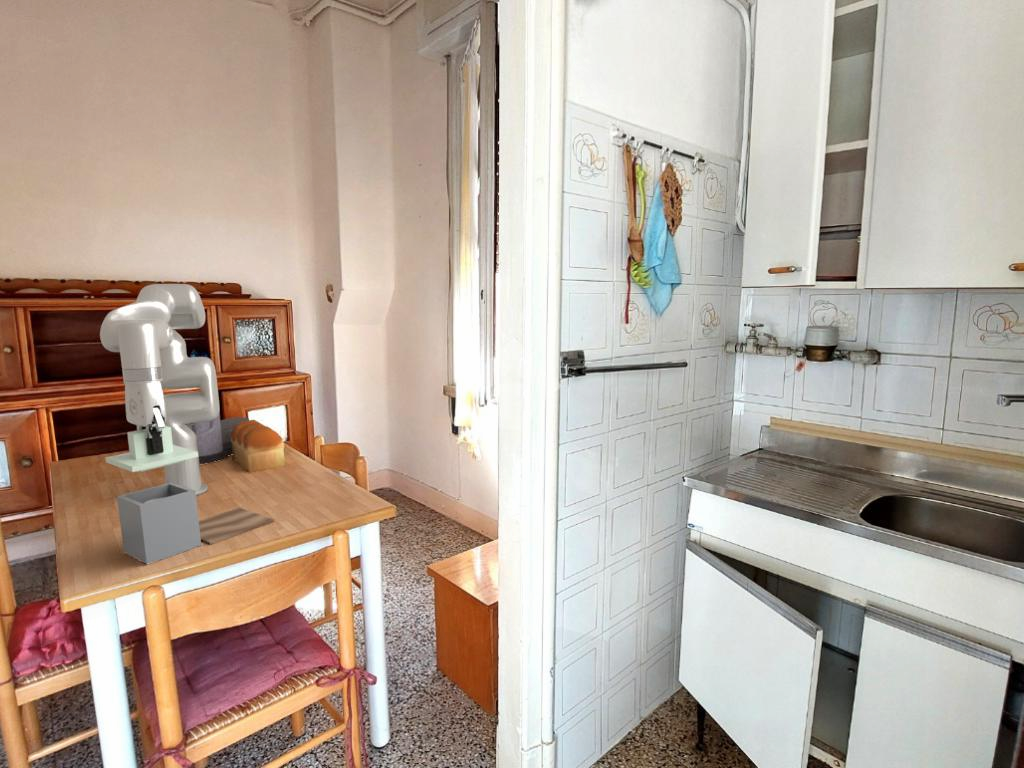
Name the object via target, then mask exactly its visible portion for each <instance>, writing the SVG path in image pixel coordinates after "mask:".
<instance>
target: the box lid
mask: <svg viewBox="0 0 1024 768" xmlns="http://www.w3.org/2000/svg"><path fill="white" fill-rule="evenodd" d="M152 428H153V427H152ZM152 428H151V430H152ZM162 434H163V435H162V441H163V450H164V452H163V453H159V454H154V455H148V452H147V444H146V438H148V437H147V431H146V429H144V430H138V431H137V430H134V431H127V434H126V435H127V442H128V450H129V452H125V453H121V454H120V453H119V454H115V455H111V456H106V457H105V463H106V464H110V465H112V466H115V467H118V468H121V469H123V470H126V471H129V472H131V473H136V472H139V473H141V472H145V471H151V470H154V469H158V468H159V469H160V468H164V466H168V465H172V464H176V463H180V462H183V460H187V459H191V458H195V457H199V456H198V452H197V451H193V450H190V449H186V448H183V447H179V446H175V445H173V443H172V434H171V427H168V426H165V428H164V429H163V430H162Z"/></svg>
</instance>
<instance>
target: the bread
mask: <svg viewBox="0 0 1024 768" xmlns="http://www.w3.org/2000/svg"><path fill="white" fill-rule="evenodd" d="M230 441H231V443H232V453H233V455H232V460H233V459H234V460H233V461H235V460H236V461H237V462H238V463H239V464H238V463H237V462H236V461H235V462H236V463H237V464H238V465H240V466H241V465H242V466H243V467H244V468H243V467H242V466H241V467H242V468H243V469H244V470H246V471H247V470H248V471H249V472H248V471H247V472H248V473H250V474H252V473H251V472H253V473H257V472H256V471H258V472H262V471H261V470H263V471H267V470H266V469H269V470H272V469H271V468H274V469H276V468H275V467H279V466H284V465H285V466H286V464H285V462H286V461H285V449H284V448H285V443H284V440H283V438H282V436H281V435H280V434H279V433H278V432H277V431H275V430H274V429H272V428H271V427H269V426H267V425H264V424H262V423H260V422H259V421H257V420H255V419H250V420H248V421H241V422H240V423H238V424H237V425H236V426H235V427H234V429H233V430H232V431H231V438H230ZM285 466H284V467H285ZM279 468H280V467H279Z"/></svg>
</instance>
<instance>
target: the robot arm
mask: <svg viewBox="0 0 1024 768" xmlns="http://www.w3.org/2000/svg"><path fill="white" fill-rule="evenodd" d="M205 323H206V312H205V307H204V304H203V302H202V298H201V296H200V294H199V292H198V291H197V289H196V288H195V287H194V286H192V285H190V284H188V283H153V284H152V283H151V284H149V285H146V286H144V287H143V288H141V290H140V292H139V294H138V295H137V298H136V301H135V302H132V303H129V304H126V305H124V306H121V307H119V308H115V309H113V310H110V311H109V312H108V313H107V314H106V316H105V317H104V319H103V321H102V324H101V326H100V330H99V332H100V333H99V337H100V341H101V344H102V346H103V347H104V349H106V350H108V351H109V352H112V353H119V355H120V362H121V368H122V369H121V371H122V378H123V384H124V385H125V386H124V401H125V402H124V403H125V404H124V405H125V416H126V417H125V418H126V420H127V422H128V423H130V424H132V425H135V427H136V431H138V430H144V429H146V431H147V437H148V438H146V444H147V452H148V455H154V454H159V453H163V452H164V450H163V441H162V435H163V434H162V430H163V429H164V428H165V426H168V427H171V434H172V443H173V445H175V446H179V447H183V448H186V449H190V450H193V451H197V452H198V445H197V437H196V435H195V433H194V432H193V431H192V430H191V429H190V428H189V427H188V426H187V424H189V423H197V422H208V421H213V420H216V419H217V418H218V416H219V413H220V411H221V410H220V400H219V399H220V398H219V390H218V389H219V388H218V378H217V371H216V367H215V364H214V362H213V360H212V359H211V358H209V357H206V356H194V357H189V356H188V354H187V344H186V343H187V342H186V341H185V339H184V338H183V336H182V335H181V334H180V333H178V332H177V331H176V330H185V329H186V330H190V329H191V330H192V329H193V330H194V329H200V328H202V327H203V326H205ZM195 388H197V389H200V390H201V391H196V392H181V393H180V392H179V393H176V392H175V393H168V394H164V391H163V389H165V390H180V389H195ZM153 422H154V423H153ZM151 428H152V430H151ZM198 456H199V455H198ZM163 468H164V478H165V484H167V483H171V482H172V483H175V484H178V485H181V486H184V487H187V488H190V489H193V490H195V491H196V496H199V495H202V494H203V493H205V492H207V490H208V484H206V483H202V476H201V465H200V464H199V457H195V458H191V459H187V460H183V462H180V463H176V464H172V465H168V466H163Z"/></svg>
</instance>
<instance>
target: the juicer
mask: <svg viewBox="0 0 1024 768" xmlns="http://www.w3.org/2000/svg"><path fill="white" fill-rule="evenodd" d="M249 419H250V418H249V417H238V416H236V417H230V418H225V419H221V414H220V412H219V416H218V418H217V419H216V420H213V421H208V422H197V423H189V424H186V426H188V427H189V428H190V429H191V430H192V431H193V432H194V433H195V435H196V437H197V445H198V455H199V464H205V463H209V464H211V463H210V462H214V461H218V460H221V459H224V458H226V457H227V456H228V455H231V454H233V453H232V443H231V441H230V438H231V431H232V430H233V429H234V427H235V426H236V425H237V424H238V423H240V422H241V421H248V420H249ZM227 458H228V457H227ZM227 458H226V459H227ZM224 460H225V459H224ZM221 461H222V460H221ZM218 462H219V461H218ZM214 463H215V462H214ZM205 465H206V464H205Z"/></svg>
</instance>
